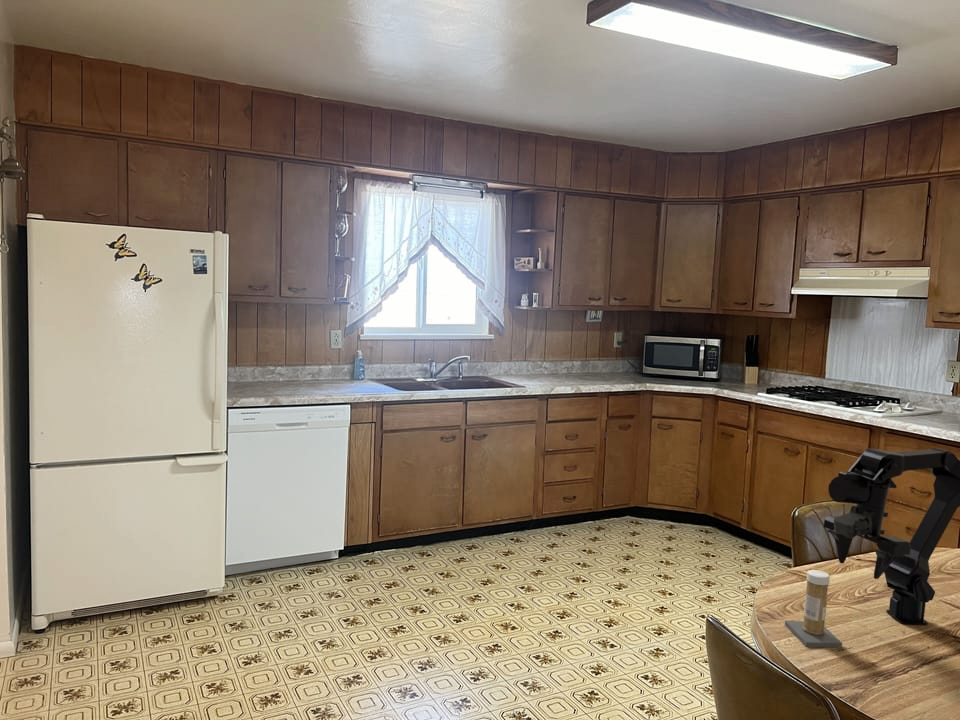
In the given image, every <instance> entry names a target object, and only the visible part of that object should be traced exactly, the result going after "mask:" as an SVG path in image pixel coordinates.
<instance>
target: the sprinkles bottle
mask: <svg viewBox="0 0 960 720" xmlns="http://www.w3.org/2000/svg"><path fill="white" fill-rule="evenodd" d="M829 585H830V575H829V574H828V573H827V572H825V571H823V570H817V569H811V570H807V573H806V589H805V590H806V591H805V597H804V598H805V599H804V607H803V608H804V610H803V621H804V622H803V627H802V628H803V630H804V631H806V632H807V633H810V634H813V635H822V634H823V633H824V627H825V622H826V613H827V599H828V588H829Z"/></svg>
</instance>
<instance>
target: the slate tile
mask: <svg viewBox="0 0 960 720" xmlns="http://www.w3.org/2000/svg"><path fill="white" fill-rule="evenodd" d="M803 622H804V620H784V626H785V627H786V628H787V629H788V630H789V631H790V632H791V633H792V634H793V635H794V637H796V638H797V639H798V641H800V642H801V644H803V646H804V647H805V648H806V647H807V648H809V647H810V648H843V642H842V641H841V640H840V639H839V638H837V637H836V636H835V635H834V634H833V633H832V632H831V631H830V630H829V629H828V628H827V627H826V626H824V633H823V634H822V635H813V634H810V633H807V632H806V631H804V630H803V628H802V627H803Z"/></svg>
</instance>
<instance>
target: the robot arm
mask: <svg viewBox="0 0 960 720" xmlns="http://www.w3.org/2000/svg"><path fill="white" fill-rule="evenodd" d="M928 469H930V473H931V474H932V476H933V477H934V478H935V479H934V482H933V485H932V486H933V492H934V493H933V494H934V497H933V500H932V501H931V503H930V505H929V507H928V509H927V510H926V512H925V514H924V516H923V518H922V519H921V521H920V523H919V525H918V527H917V528H916V530H915V532H914V534H913V536H912V538H911V539H910V541H907V540H905V539H903V538H900V537H896V536H889V535H888V536H885V529H883V528H882V525H883V520H884V518H888V515H889V512H887V511H885V510H886V504H887V500H888V494H889V489H897V484H896V483H895V482H894V481H893V480H892V479H893V478H897V477H901V476H902V474H903V473H904V472H908V471H910V472H911V471H917V470H918V471H919V470H928ZM828 495H829V497H830V498H831V500H833V501H834V502H836V503H841V504H842V503H844V504H853V505H852V506H851V507H850V510H849V512H848V513H843V514H841V515H828V516H827V517H825V518H824V521H823V524H822V526H823V528H825V529H826V532H827V533H829V534H830V535H831V536H832V538H833V539H834V543H835V546H836V551H837V556H838V561H839V564H845V562H846V560H847V557H848V554H849V551H850V547H851V545H852V541H853V538H855V537H856V536H857V537H859V538H863V539H865V540H867V541H870V542H873V543H875V544H876V547H877V549H874V553H875V554H876V561H875V564H874V571H873V578H874V579H875V580H878V579H880V577H882V575H883V574H884V577H885V581H886V587H887V588H888V589H891V590H892V594H891V596H890V599H889V606H888V607H889V608H888V609H886V613H887V614H889V615H890V616H891V617H892V618H894V619H895V620H896V621H897V622H899V623H901V624H902V625H926V626H927V625H929V622H928V621H927V619H925V612H926V603H929V602H930V601H933V599H934V596H935V595H936V591H935V589H934V588H933V587H932V585H931V584H930V583H929V582H928V580H929V577H930V574H931V572H930V564H929V560H930V558H931V557H932V554H933V553H934V551H935V549H936V547H937V546H938V543H939V541H940V540H941V538H942V537H943V534H944V533H945V531H946V529H947V527H948V526H949V524H950V522H951V520H952V518H953V517H954V514H955V513H956V511H957V509H958V508H960V460H959V458H958V457H957V455H955V453H953V452H952V451H950V450H946V449H942V448H938V447H933V448H930V449H928V448H927V449H917V450H907V451H906V450H904V451H890V450H884V449H878V448H867V449H864V450H863V453H862V454H861V455H860V456H858V458H857V460H856V461H855V462H854V463H853V464H852V465H851V467H850V468H849V469H848V470H847V472H845V471H839V472H838V475H837V476H836V477H834V478H833V479H832V480H831V481H830V482H829V484H828ZM854 504H855V505H854Z"/></svg>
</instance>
